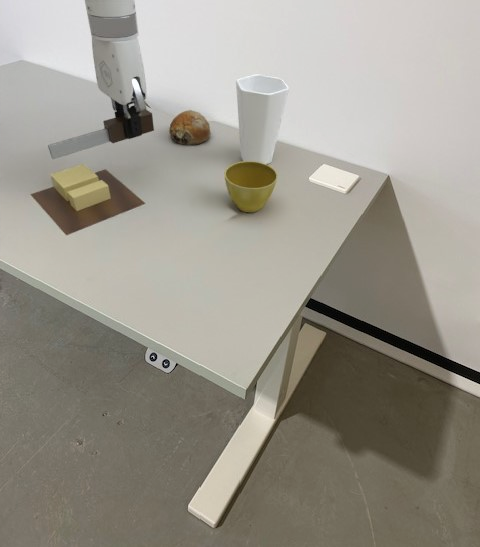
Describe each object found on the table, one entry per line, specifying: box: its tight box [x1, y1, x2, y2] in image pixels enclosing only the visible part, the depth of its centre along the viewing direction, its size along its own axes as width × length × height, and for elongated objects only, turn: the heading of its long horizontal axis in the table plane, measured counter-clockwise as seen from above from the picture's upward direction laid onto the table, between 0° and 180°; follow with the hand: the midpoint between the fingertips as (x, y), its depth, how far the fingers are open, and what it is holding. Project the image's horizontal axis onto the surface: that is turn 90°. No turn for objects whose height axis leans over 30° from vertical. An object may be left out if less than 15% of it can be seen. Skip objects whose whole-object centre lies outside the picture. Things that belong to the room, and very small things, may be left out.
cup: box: [235, 73, 290, 165], centre depth 92 cm, size 11×10×17 cm
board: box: [30, 168, 146, 236], centre depth 81 cm, size 16×16×2 cm
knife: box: [47, 109, 155, 160], centre depth 76 cm, size 20×2×4 cm, turn 131°
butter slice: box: [67, 180, 111, 211], centre depth 79 cm, size 7×2×3 cm, turn 131°
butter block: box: [49, 163, 99, 201], centre depth 82 cm, size 7×6×3 cm
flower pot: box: [223, 160, 278, 213], centre depth 82 cm, size 10×10×7 cm
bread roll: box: [168, 109, 211, 146], centre depth 103 cm, size 10×10×8 cm
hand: (130, 132), depth 80 cm, fingers closed on knife, 2 cm apart
